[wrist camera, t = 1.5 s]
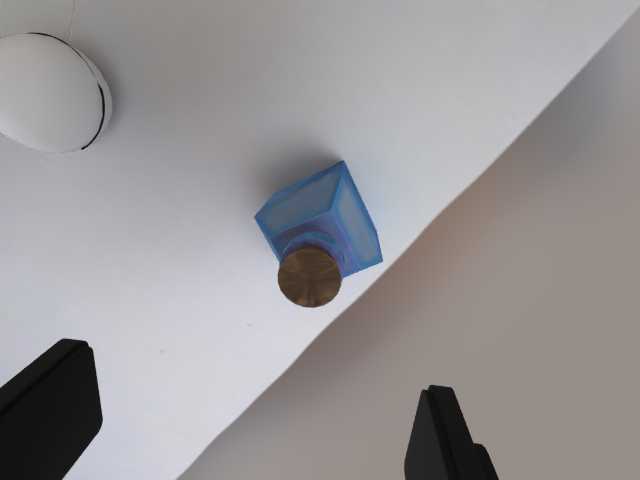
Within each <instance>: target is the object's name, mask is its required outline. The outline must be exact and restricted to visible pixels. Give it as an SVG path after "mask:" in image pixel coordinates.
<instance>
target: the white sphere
mask: <svg viewBox="0 0 640 480" xmlns="http://www.w3.org/2000/svg"><path fill="white" fill-rule="evenodd" d="M74 9H75V0H74V8H73V15H72V26H71V36H72V27H73V16H74ZM71 36H70V41H71ZM111 114H112V97H111V94H110V91H109V87H108V84H107V82H106V81H105V79H104V78H103V76H102V74H101V73H100V71H99V70H98V68H97V67H96V66H95V64H94V63H93V62H91V61H90V60H89V59H88V58H87V57H86V56H85V55H84V54H83V53H82V52H81V51H79V50H77V49H76V48H74V47H72V46H70V45H68V44H67V43H65V42H64V41H62V40H60V39H58V38H56V37H54V36H51V35H48V34H43V33H26V34H16V35H10V36H5V37H3V38H1V39H0V132H1V133H2V134H4V135H5V136H6V137H8V138H10V139H12V140H14V141H16V142H18V143H20V144H22V145H24V146H26V147H28V148H30V149H33V150H38V151H43V152H49V153H66V152H73V151H77V150H80V149H82V150H83V149H85V148H86V147H88V146H89V145H90V144H92V143H94V142H95V141H97V140H98V139H99V138H100V136H101V135H102V134H103V132H104V131H105V130H106V128H107V126H108V124H109V121H110V117H111Z"/></svg>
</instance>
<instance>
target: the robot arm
mask: <svg viewBox="0 0 640 480" xmlns="http://www.w3.org/2000/svg"><path fill="white" fill-rule="evenodd" d="M102 421H103V417H102V410H101V403H100V396H99V389H98V382H97V375H96V368H95V361H94V354H93V349H92V348H91V347H89V346H88V343H87V342H86V341H82V340H74V339H66V338H65V339H61V340H60V341H58V342H57V343H56V344H54V345H53V346H52V347H51V348H49V349H48V350H47V351H46V352H44V353H43V354H42V355H41V356H39V357H38V358H37V359H36V360H34V361H33V362H32V363H31V364H29V365H28V366H27V367H26V368H24V369H23V370H22V371H21V372H19V373H18V374H17V375H16V376H14V377H13V378H12V379H11V380H10V381H8V382H7V383H6V384H5V385H3V386H2V387H1V388H0V480H62V479H63V478H64V476H65V475H66V474H67V473H68V471H69V470H70V469H71V467H72V466H73V465H74V463H75V462H76V461H77V460H78V458H79V457H80V456H81V454H82V453H83V452H84V450H85V449H86V448H87V447H88V445H89V444H90V443H91V441H92V440H93V439H94V437H95V436H96V435H97V434H98V432H99V430H100V428H101V426H102ZM404 471H405V478H406V480H499V479H498V476H497V474H496V471H495V469H494V467H493V464H492V462H491V459H490V457H489V454H488V452H487V450H486V448H485V447H484V446H483V445H482V444H476V443H473V441H472V438H471V435H470V433H469V430H468V427H467V425H466V422H465V419H464V417H463V414H462V412H461V409H460V406H459V404H458V401H457V399H456V396H455V393H454V391H453V389H452V388H451V387H444V386H436V385H430V386H429V388H428V390H422V392H421V395H420V399H419V404H418V407H417V412H416V416H415V420H414V424H413V429H412V432H411V437H410V441H409V445H408V449H407V453H406V457H405V465H404Z"/></svg>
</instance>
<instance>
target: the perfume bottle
mask: <svg viewBox="0 0 640 480" xmlns="http://www.w3.org/2000/svg"><path fill="white" fill-rule="evenodd" d="M254 218H255V220H256V222H257V223H258V225H259V227H260V229H261V231H262V232H263V234H264V236H265V238H266V239H267V241H268V243H269V245H270V246H271V248H272V250H273V252H274V253H275V255H276V257H277V259H278V260H279V262H280V263H279V265H280V268H279V271H278V284H279V286H280V289H281V291H282V293H283V294H284V295H285V296H286V298H287V299H289V300H290V301H291V302H293V303H294V304H297V305H300V306H303V307H311V308H315V307H319V306H323V305H325V304H327V303H329V302H330V301H332V300H333V299H334V297H335V296H336V295H337V294H338V292H339V289H340V287H341V282H342V280H343V278H344V277H346V276H349V275H351V274H354V273H356V272H359V271H361V270H363V269H366V268H368V267H371V266H373V265H376V264H378V263H380V262H383V259H382V254H381V249H380V245H379V240H378V235H377V231H376V229H375V226H374V224H373V222H372V220H371V218H370V216H369V214H368V211H367V209H366V207H365V205H364V203H363V201H362V199H361V196H360V194H359V192H358V190H357V188H356V186H355V184H354V181H353V179H352V177H351V175H350V173H349V171H348V169H347V166H346V164H345V162H344V161H342V162H340V163H338V164H336V165H334V166H332V167H330V168H328V169H326V170H324V171H322V172H320V173H318V174H316V175H314V176H311V177H309V178H307V179H305V180H303V181H301V182H299V183H297V184H295V185H293V186H291V187H289V188H287V189H285V190H283V191H281V192H279V193H277V194H275V195H273V196H272V197H271V198H270V199H269V201H268V202H267V203H266V204H265V205H264V206H263V207H262V208H261V210H260V211H259V212H258V213H257V214H256V215H255V216H254Z"/></svg>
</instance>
